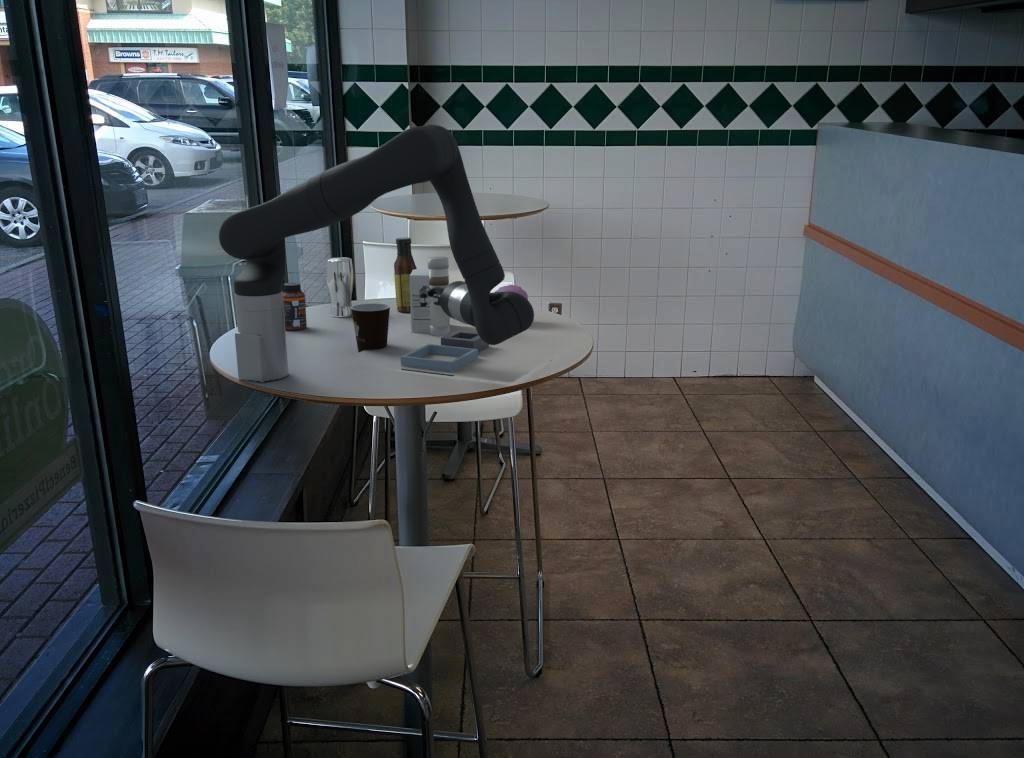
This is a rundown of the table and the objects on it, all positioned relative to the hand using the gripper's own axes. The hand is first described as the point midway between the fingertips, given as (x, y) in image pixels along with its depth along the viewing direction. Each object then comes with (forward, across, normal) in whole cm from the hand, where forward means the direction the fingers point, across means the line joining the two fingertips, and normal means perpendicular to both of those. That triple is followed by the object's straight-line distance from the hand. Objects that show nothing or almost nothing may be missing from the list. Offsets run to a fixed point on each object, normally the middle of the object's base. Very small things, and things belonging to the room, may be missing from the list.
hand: (434, 289), depth 186 cm
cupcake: (+28, -32, +16) cm, 45 cm away
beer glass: (+57, +4, +16) cm, 59 cm away
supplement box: (+28, -10, +16) cm, 34 cm away
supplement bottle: (+47, +19, +16) cm, 53 cm away
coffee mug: (+18, +8, +16) cm, 26 cm away
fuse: (-3, 0, +9) cm, 9 cm away
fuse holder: (+5, -9, +16) cm, 19 cm away
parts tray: (-2, 0, +16) cm, 16 cm away
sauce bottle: (+55, -13, +16) cm, 58 cm away
